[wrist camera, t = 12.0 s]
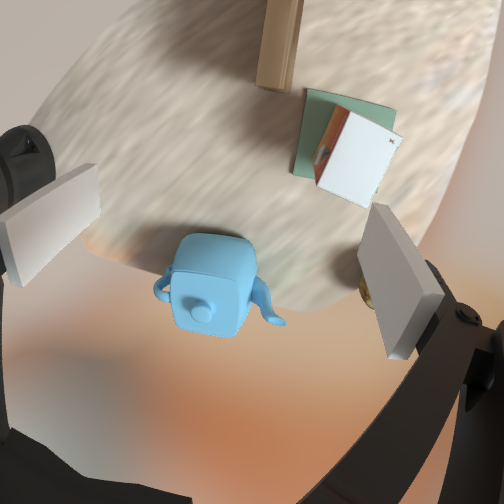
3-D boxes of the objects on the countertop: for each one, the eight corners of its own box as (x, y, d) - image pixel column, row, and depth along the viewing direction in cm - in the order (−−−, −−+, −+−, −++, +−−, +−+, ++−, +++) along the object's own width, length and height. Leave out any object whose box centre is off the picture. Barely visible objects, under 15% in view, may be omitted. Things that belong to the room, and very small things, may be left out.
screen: (264, 89, 34) (246, 90, 22) (283, -33, 26) (274, -84, 14) (289, 93, 34) (285, 96, 22) (308, -29, 25) (311, -80, 13)
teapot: (285, 307, 50) (279, 362, 40) (175, 290, 51) (149, 338, 41) (296, 237, 43) (294, 286, 34) (170, 222, 45) (136, 263, 35)
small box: (336, 102, 33) (350, 108, 24) (378, 123, 34) (405, 136, 24) (310, 160, 37) (314, 187, 28) (351, 179, 38) (367, 210, 29)
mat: (292, 173, 39) (292, 175, 39) (307, 88, 33) (307, 88, 33) (375, 191, 38) (376, 192, 38) (395, 110, 33) (396, 110, 32)
